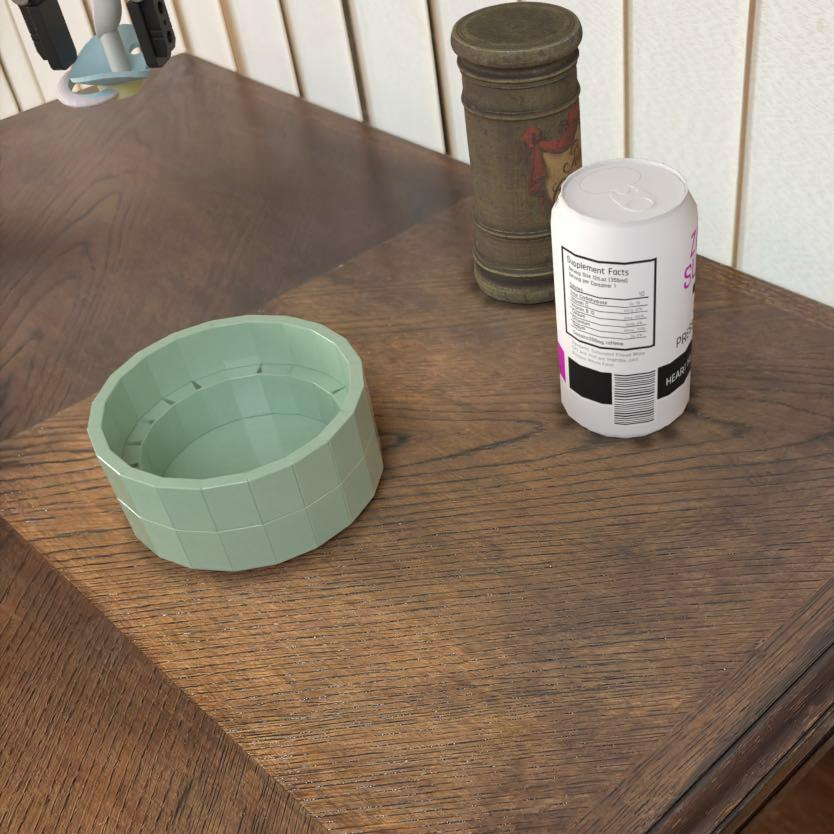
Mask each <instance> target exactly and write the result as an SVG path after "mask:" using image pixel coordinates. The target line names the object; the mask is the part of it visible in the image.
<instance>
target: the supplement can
mask: <svg viewBox="0 0 834 834" xmlns="http://www.w3.org/2000/svg"><path fill="white" fill-rule="evenodd" d="M688 187H689V186H688V180H687V179H686V177H684V176H683V174H682V173H681V172H680V171H679V170H678V169H676V168H674V167H672V166H670V165H667V164H666V163H664V162H660V161H656V160H651V159H648V158H636V157H635V158H634V157H617V158H611V159H602V160H599V161H596V162H593V163H588V164H586V165H582V167H581V168H580V169H578V170H576V171H575V172H573V173H571V174H570V175H569V176H568V177H567V178H566V180H565V181H564V182H563V184H562V185H561V192H560V194H559V196H558V198H557V200H556V202H555V204H554V206H553V208H552V213H551V236H552V252H553V269H554V285H555V300H554V303H555V315H556V316H555V317H556V318H555V319H556V331H557V333H556V334H557V351H558V364H559V366H558V369H559V382H560V383H559V384H560V399H561V404H562V406H563V408H564V409H565V412H566V413H567V416H569V417H570V418H571V419H573V420H574V421H575V422H576V423H577V424H579V425H580V426H581V427H583V428H586V429H587V430H588V431H591V432H592V433H596V434H599V435H601V436H603V437H609V438H620V439H630V438H636V437H637V438H638V437H644V436H647V435H650V434H653V433H655V432H658V431H661V430H662V429H663V428H666V427H667V426H669V425H670V424H671V423H673V422H674V421H676V419H677V418H678V417H680V416H682V414H683V413H684V411H685V409H686V407H687V405H688V403H689V401H690V391H691V373H692V372H691V370H692V354H693V353H692V352H693V333H694V332H693V331H694V310H695V293H696V291H695V289H696V275H697V273H696V272H697V271H696V270H697V255H698V254H697V251H698V232H699V211H698V205H697V202H696V201H695V198H694V197H693V195H692V193H691V191H690V190H689V188H688Z"/></svg>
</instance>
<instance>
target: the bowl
mask: <svg viewBox="0 0 834 834" xmlns="http://www.w3.org/2000/svg"><path fill="white" fill-rule="evenodd" d="M89 411H90V412H89V417H88V424H87V429H86V431H87V435H88V437H89V440H90V443H91V445H92V448H93V450H94V453H95V456H96V458H97V460H98V462H99V465H100V466H101V468H102V470H103V473H104V474H105V476H106V479H107V481H108V482H109V484H110V486H111V489H112V491H113V493H114V495H115V497H116V499H117V501H118V503H119V505H120V507H121V509H122V511H123V513H124V515H125V517H126V519H127V521H128V523H129V525H130V528H131V530H132V531H133V534H134V536H135V537H136V538H137V539H138V540H139V541H140V542H141V543H142V544H144V545H145V546H146V547H147V548H148V549H149V550H150V551H151V552H153V553H154V554H155V555H156V556H157V557H159V558H161V559H163V560H166V561H168V562H171V563H174V564H176V565H180V566H182V567H184V568H188V569H191V570H201V571H216V572H217V571H219V572H233V573H234V572H240V571H246V570H253V569H258V568H265V567H269V566H275V565H276V566H277V565H279V564H282V563H285V562H286V561H289V560H291V559H295V558H297V557H299V556H301V555H304V554H306V553H308V552H311V551H314V550H317V549H318V548H320V547H321V546H322V545H324V544H325V543H327V542H328V541H329V540H331V539H333V538H334V537H335V536H336V535H338V534H339V533H341V532H342V531H343V530H345V529H346V528H348V527H349V526H351V524H353V523H354V522H355V521H356V519H357V518H358V517H359V515H360V514H361V512H363V510H365V508H366V507H367V506H368V504H369V503H370V502H371V501H372V500H373V498H374V496H375V494H376V491H377V488H378V485H379V483H380V480H381V477H382V475H383V471H384V461H383V460H384V459H383V452H382V451H383V450H382V444H381V443H382V442H381V439H380V434H379V430H378V429H379V428H378V426H377V421H376V417H375V412H374V408H373V404H372V398H371V395H370V390H369V386H368V381H367V377H366V373H365V368H364V363H363V361H362V358H361V357H360V356H359V354H358V353H357V351H356V350H355V348H354V347H353V346H352V345H351V343H350V341H349V340H348V339H347V338H346V337H344V336H342V335H341V334H339V333H338V332H335V331H334V330H332V329H331V328H329V327H327V326H326V325H324V324H322V323H319V322H316V321H311V320H307V319H304V318H300V317H295V316H291V315H283V314H282V315H281V314H280V315H279V314H276V315H275V314H245V315H237V316H230V317H225V318H218V319H212V320H208V321H206V322H202V323H199V324H196V325H193V326H190V327H187V328H185V329H181V330H178V331H175V332H171V333H170V334H168V335H167V336H165V337H163V338H161V339H159V340H157V341H155V342H154V343H152V344H150V345H147V347H144V348H142V349H141V350H139V351H137V352H136V353H134V355H132V356H131V357H130V358H128V359H127V360H126V361H125V362H124V363H123V364H122V365H120V366H119V367H118V368H117V369H116V370H115V371H114V372H112V373H111V374H110V375H109V377H108V378H107V379H106V380H105V383H104V384H103V385H102V387H101V389H100V390H99V392H98V393H97V395H96V396H95V398H94V399H93V401H92V403H91V405H90V410H89Z"/></svg>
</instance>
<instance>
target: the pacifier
mask: <svg viewBox="0 0 834 834" xmlns="http://www.w3.org/2000/svg"><path fill="white" fill-rule="evenodd" d="M91 8H92V9H91V11H92V20H93V26H94V31H95V35H93V36H92V37H91V38H90V39H89V40H88V41H87V42H86V43H85V44H84V45H83V47H82V48H81V50H80V51H79V52H78V53H77V60H76V61H75V62H74V63H73V64H72V65H71V67H70V69H68V70H66V72H64V74H63V75H62V76H61V77H60V78H59V80H58V82H57V84H56V86H55V95H56V98H57V100H58V101H59V102H60V103H62V104H63V105H64V106H67V107H69V108H74V109H89V108H95V107H100V106H101V105H104V104H107V103H109V102H111V101H116V100H122V99H123V100H124V99H127V98H130V97H133V96H135V95H137V94H138V93H139V92H140V91H141V90H142V89H143V86H144V85H143V84H144V83H143V80H145V79H148V78H150V77H152V76H153V75H152V70H151V69H150V68H149V67H148V66H147V65H146V62H145V59H144V56H143V53H142V50H141V51H140V52H138V53H132V52H133V50H135V49H137V48H141V47H140V44H139V41H138V39H137V36H136V33H135V30H134V27H133V24H131V23H122V24H121V21H122V15H123V7H122V0H91ZM76 84H79V85H86V86H96V87H97V89H98V91H97V92H93V93H87V94H85V93H84V94H81V93H76V92H73V89H74V87H75V86H76Z"/></svg>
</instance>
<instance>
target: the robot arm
mask: <svg viewBox="0 0 834 834" xmlns="http://www.w3.org/2000/svg"><path fill="white" fill-rule="evenodd" d="M10 1H11V2H12V3H14V4H15V5H17V7H18V9H19V11H20V13H21V15H22V18H23V20H24V23H25V26H26V28H27V31H28V32H29V35H30V38H31V40H32V43H33V45H34V48H35V50H36V53H37V54H38V55H39V57H40V58H41V59H42V60H43V61H47V62H48V65H49V67H50V69H51V70H52V71H68V70H69V68H71V67H72V65H73V63H74V62H75V61H76V60H77V56H78V52H77V48H76V46H75V43H74V40H73V37H72V34H71V31H70V30H69V27H68V24H67V22H66V19H65V17H64V14H63V11H62V8H61V6H60V3H59V1H58V0H10ZM125 6H126V8H127V12H128V14H129V17H130V20H131V23H132V25H133V27H134V30H135V33H136V36H137V39H138V41H139V44H140V47H139V48H140V50H141V51H142V53H143V56H144V59H145V62H146V65H147V66H148V67H149V69H161V68H163V67H164V66H165V65H166V64H167V63H168V61H169V60H170V59H171V57H172V52H173V51H174V49H176V41H177V38H176V37H177V36H176V35H175V31H174V29H173V25H172V22H171V18H170V14H169V13H168V9H167V5H166V2H165V0H128V1H127V2H126V3H125Z"/></svg>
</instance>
